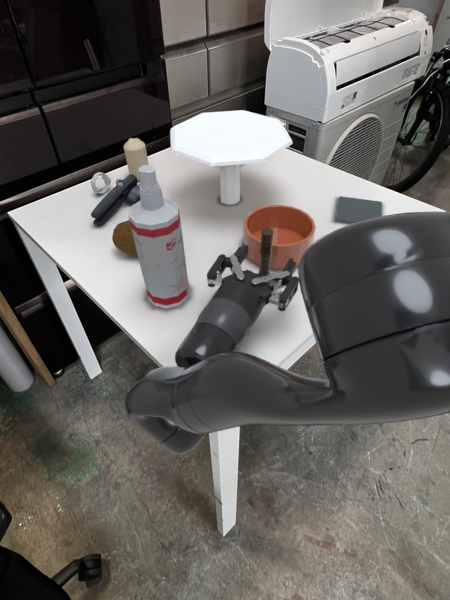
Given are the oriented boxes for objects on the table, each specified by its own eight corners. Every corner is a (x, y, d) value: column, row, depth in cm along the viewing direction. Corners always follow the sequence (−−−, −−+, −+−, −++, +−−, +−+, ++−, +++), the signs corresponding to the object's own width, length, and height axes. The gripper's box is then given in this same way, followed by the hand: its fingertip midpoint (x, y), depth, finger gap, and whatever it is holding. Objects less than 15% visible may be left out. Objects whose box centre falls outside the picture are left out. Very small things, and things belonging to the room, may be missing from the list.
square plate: (380, 204, 90) (381, 201, 89) (380, 228, 83) (381, 225, 83) (338, 198, 92) (339, 196, 91) (335, 221, 85) (335, 218, 85)
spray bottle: (151, 279, 73) (124, 156, 55) (189, 278, 73) (175, 155, 55) (146, 309, 67) (114, 183, 49) (187, 308, 67) (170, 181, 49)
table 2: (195, 167, 105) (189, 103, 93) (294, 178, 99) (302, 112, 87) (156, 222, 86) (143, 152, 74) (275, 240, 81) (282, 168, 69)
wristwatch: (113, 188, 97) (108, 171, 94) (99, 197, 94) (94, 179, 91) (105, 186, 98) (100, 168, 95) (91, 195, 95) (86, 176, 92)
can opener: (130, 188, 97) (125, 168, 93) (152, 194, 95) (148, 174, 91) (83, 224, 87) (75, 202, 83) (106, 231, 84) (100, 210, 80)
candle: (136, 183, 99) (128, 146, 92) (126, 175, 102) (118, 139, 95) (154, 176, 101) (148, 140, 94) (144, 169, 104) (137, 133, 97)
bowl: (314, 233, 82) (319, 210, 78) (305, 275, 73) (310, 251, 69) (252, 224, 85) (253, 200, 81) (236, 263, 76) (236, 239, 72)
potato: (116, 241, 82) (107, 211, 76) (172, 235, 83) (168, 204, 77) (115, 265, 76) (105, 234, 71) (175, 258, 77) (171, 227, 72)
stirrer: (275, 287, 71) (282, 226, 61) (271, 302, 68) (277, 240, 58) (254, 283, 72) (258, 222, 62) (249, 297, 69) (252, 236, 59)
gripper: (274, 317, 50) (311, 248, 60) (184, 286, 55) (231, 227, 65) (270, 350, 56) (304, 282, 65) (188, 319, 60) (232, 260, 70)
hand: (268, 255), depth 65 cm, fingers open, 8 cm apart
